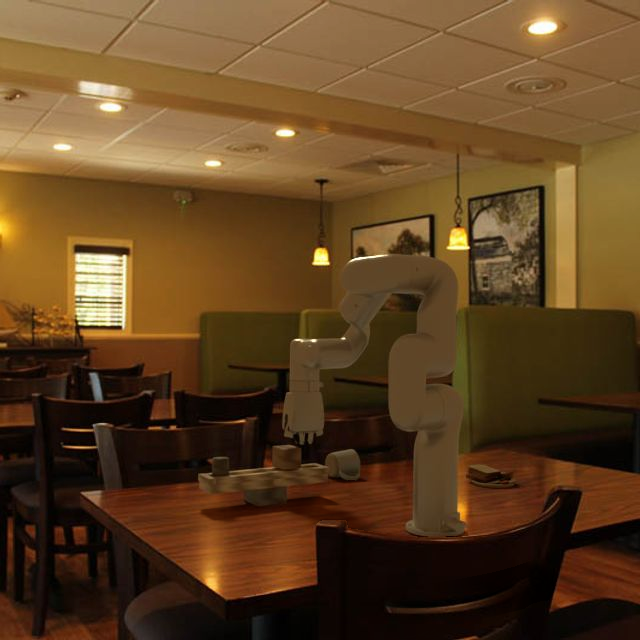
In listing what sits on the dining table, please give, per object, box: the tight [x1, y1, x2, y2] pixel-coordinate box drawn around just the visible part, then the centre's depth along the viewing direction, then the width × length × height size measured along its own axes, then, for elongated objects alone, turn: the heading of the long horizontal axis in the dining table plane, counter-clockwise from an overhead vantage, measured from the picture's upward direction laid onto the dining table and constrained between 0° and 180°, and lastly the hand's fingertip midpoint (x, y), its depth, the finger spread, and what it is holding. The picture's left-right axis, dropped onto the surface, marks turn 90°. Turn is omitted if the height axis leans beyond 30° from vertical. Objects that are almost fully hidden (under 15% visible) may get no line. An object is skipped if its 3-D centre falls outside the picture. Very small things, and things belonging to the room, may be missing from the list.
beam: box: [197, 456, 329, 507], centre depth 201 cm, size 33×8×12 cm, turn 120°
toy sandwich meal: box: [465, 464, 517, 489], centre depth 226 cm, size 12×14×5 cm
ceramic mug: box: [324, 448, 361, 481], centre depth 232 cm, size 11×8×8 cm
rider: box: [271, 444, 302, 471], centre depth 204 cm, size 5×6×7 cm
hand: (303, 459), depth 206 cm, fingers closed
